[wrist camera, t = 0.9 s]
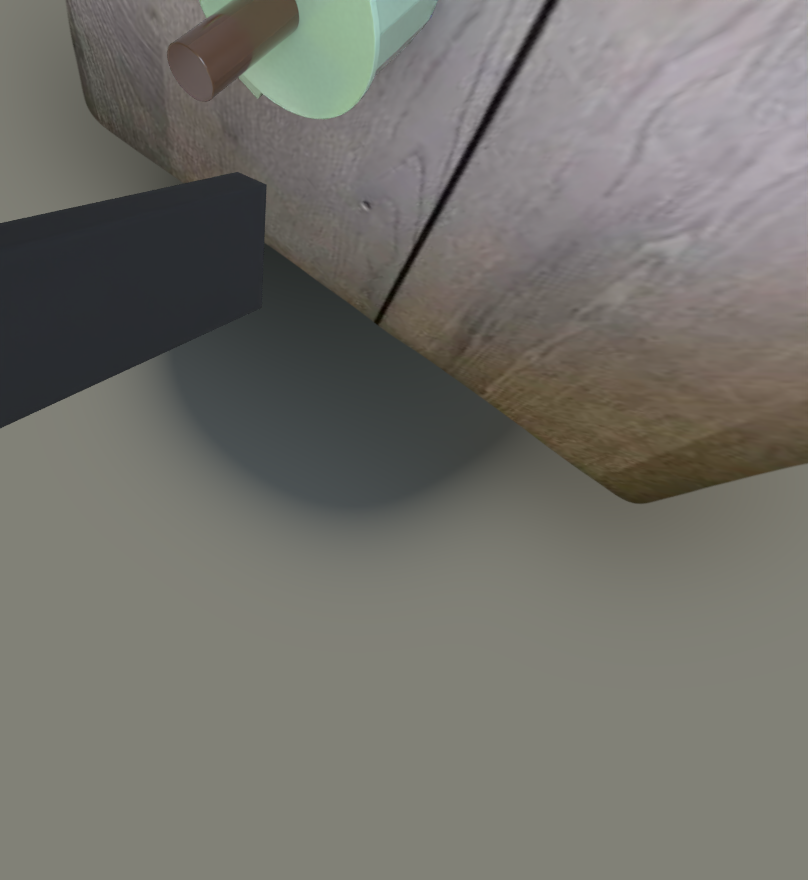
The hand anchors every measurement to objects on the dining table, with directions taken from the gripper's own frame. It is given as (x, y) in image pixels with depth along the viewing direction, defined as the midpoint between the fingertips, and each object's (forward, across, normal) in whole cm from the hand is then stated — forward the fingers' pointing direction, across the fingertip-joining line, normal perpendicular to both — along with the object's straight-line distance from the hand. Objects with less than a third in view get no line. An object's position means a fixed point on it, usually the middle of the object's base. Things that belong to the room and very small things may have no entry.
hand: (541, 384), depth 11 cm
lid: (+25, -27, +1) cm, 37 cm away
